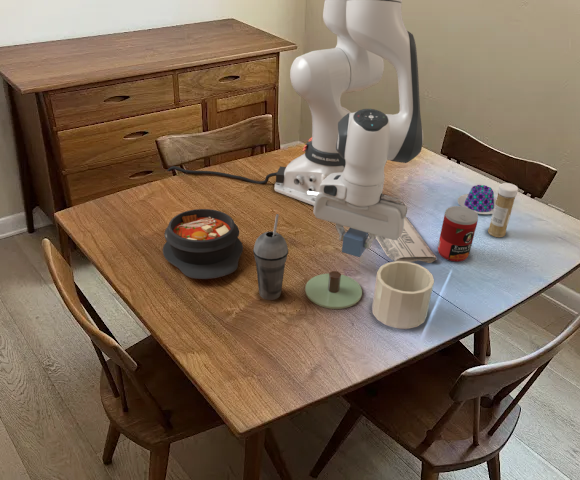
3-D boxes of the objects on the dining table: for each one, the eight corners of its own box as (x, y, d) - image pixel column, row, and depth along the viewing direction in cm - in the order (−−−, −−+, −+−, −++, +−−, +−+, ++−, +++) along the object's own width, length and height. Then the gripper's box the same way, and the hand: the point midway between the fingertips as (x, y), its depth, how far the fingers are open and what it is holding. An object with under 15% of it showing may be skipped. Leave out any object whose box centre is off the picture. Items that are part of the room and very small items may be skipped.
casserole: (156, 233, 150) (152, 203, 145) (230, 224, 155) (229, 194, 150) (172, 291, 131) (168, 259, 126) (255, 278, 136) (255, 247, 131)
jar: (364, 320, 126) (369, 283, 120) (381, 291, 134) (387, 255, 129) (417, 336, 122) (425, 299, 117) (431, 306, 131) (439, 269, 125)
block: (341, 252, 137) (343, 235, 134) (348, 242, 140) (350, 226, 138) (359, 257, 136) (361, 241, 133) (366, 248, 139) (368, 231, 136)
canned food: (450, 265, 144) (459, 225, 137) (430, 248, 150) (438, 209, 143) (475, 258, 147) (485, 218, 140) (454, 242, 153) (463, 203, 146)
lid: (295, 301, 130) (296, 281, 127) (318, 272, 139) (319, 253, 136) (349, 317, 126) (352, 297, 123) (369, 286, 136) (371, 267, 133)
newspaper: (359, 220, 159) (361, 212, 158) (402, 221, 163) (404, 212, 161) (388, 267, 142) (391, 258, 140) (436, 267, 145) (438, 258, 143)
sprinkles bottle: (508, 235, 157) (522, 188, 148) (496, 239, 154) (510, 192, 146) (495, 227, 160) (508, 180, 151) (483, 231, 157) (495, 184, 149)
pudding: (499, 220, 163) (503, 202, 160) (454, 211, 166) (458, 194, 162) (502, 200, 172) (506, 183, 169) (459, 192, 175) (463, 176, 172)
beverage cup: (252, 285, 134) (252, 205, 122) (285, 285, 135) (288, 205, 123) (253, 306, 128) (253, 223, 116) (287, 305, 129) (291, 223, 117)
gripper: (413, 194, 128) (402, 249, 136) (324, 171, 134) (319, 225, 142) (404, 207, 123) (394, 263, 132) (312, 183, 129) (308, 238, 138)
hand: (354, 243), depth 137 cm, fingers closed on block, 4 cm apart
